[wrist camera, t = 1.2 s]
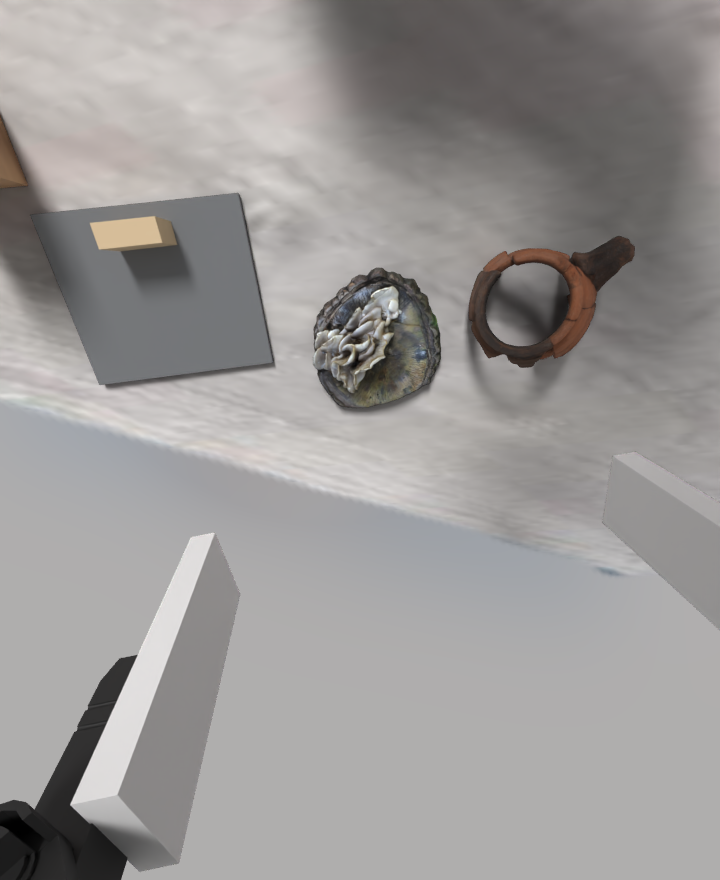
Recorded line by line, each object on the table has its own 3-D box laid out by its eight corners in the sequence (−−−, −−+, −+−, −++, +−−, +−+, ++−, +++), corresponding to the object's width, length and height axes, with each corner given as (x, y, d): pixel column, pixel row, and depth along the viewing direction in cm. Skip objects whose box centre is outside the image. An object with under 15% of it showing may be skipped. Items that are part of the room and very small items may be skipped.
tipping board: (35, 215, 26) (-4, 208, 23) (239, 194, 27) (229, 184, 24) (103, 382, 31) (78, 396, 28) (273, 361, 32) (268, 371, 29)
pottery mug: (517, 383, 36) (514, 395, 29) (454, 307, 37) (435, 299, 29) (648, 288, 31) (685, 273, 23) (571, 199, 31) (585, 157, 24)
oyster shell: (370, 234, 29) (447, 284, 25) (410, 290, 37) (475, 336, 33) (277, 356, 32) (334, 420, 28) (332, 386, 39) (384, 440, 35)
